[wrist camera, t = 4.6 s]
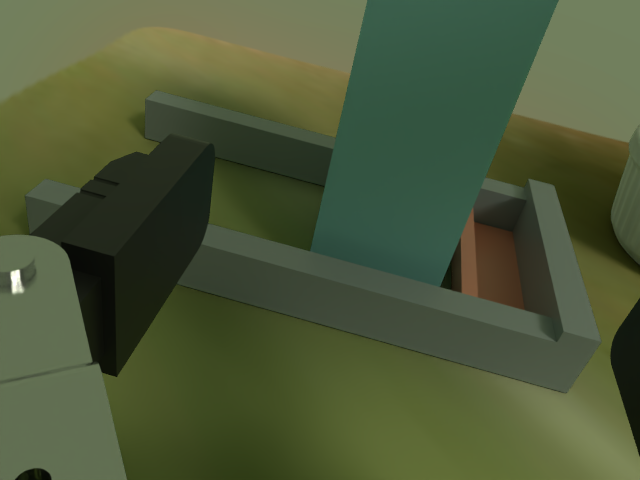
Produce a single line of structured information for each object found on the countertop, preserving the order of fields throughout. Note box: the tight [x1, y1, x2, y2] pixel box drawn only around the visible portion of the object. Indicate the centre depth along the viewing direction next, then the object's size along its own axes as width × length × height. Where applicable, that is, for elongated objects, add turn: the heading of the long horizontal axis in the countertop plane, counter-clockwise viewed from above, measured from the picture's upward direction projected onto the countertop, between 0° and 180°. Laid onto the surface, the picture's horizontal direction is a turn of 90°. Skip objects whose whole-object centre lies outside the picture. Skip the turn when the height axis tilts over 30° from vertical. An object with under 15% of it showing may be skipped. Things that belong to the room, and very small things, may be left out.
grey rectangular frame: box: [25, 90, 601, 393], centre depth 23 cm, size 19×10×2 cm, turn 79°
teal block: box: [310, 0, 558, 287], centre depth 20 cm, size 5×5×14 cm
